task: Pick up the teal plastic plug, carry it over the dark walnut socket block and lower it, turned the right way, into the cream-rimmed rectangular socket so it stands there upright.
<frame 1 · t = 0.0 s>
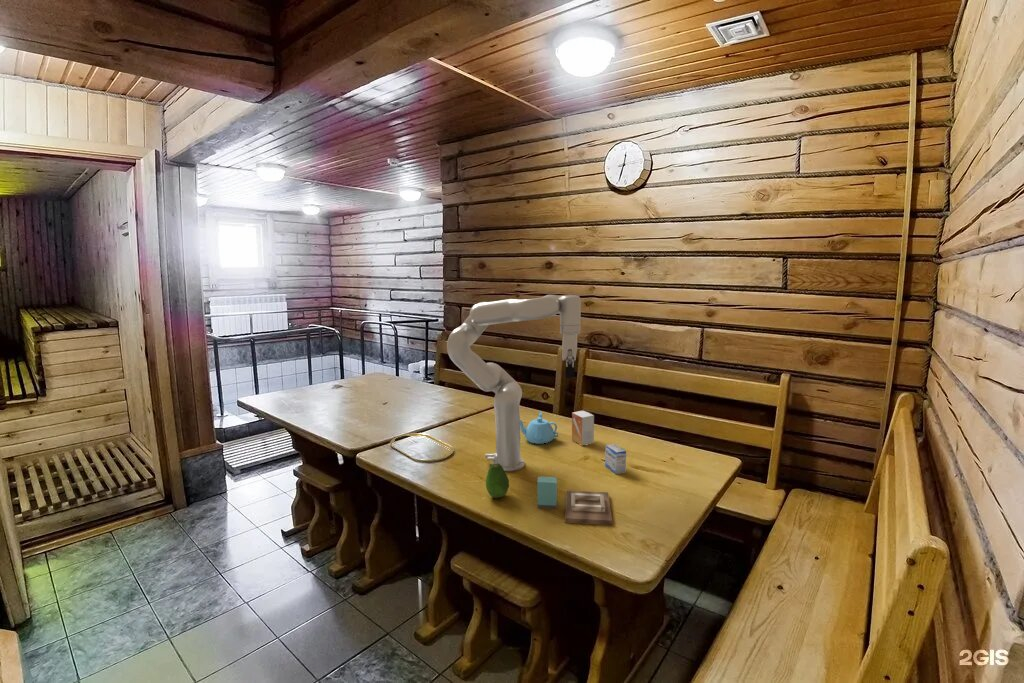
hand: (570, 374, 180), 37 cm above the table, tool pointing down, fingers open, 9 cm apart
avocado: (497, 497, 164), on the table
small box: (582, 442, 212), on the table
plug: (547, 505, 157), on the table
teapot: (537, 440, 215), on the table
serving platter: (421, 449, 208), on the table
medicine box: (615, 470, 184), on the table
socket block: (587, 508, 155), on the table
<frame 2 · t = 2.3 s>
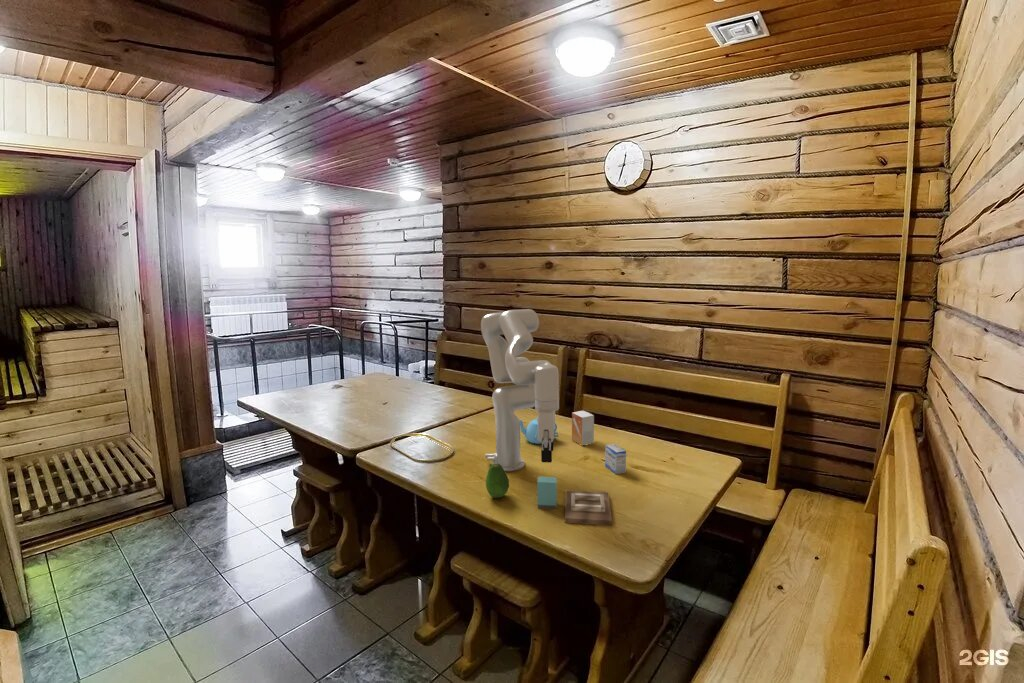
hand: (547, 456, 154), 17 cm above the table, tool pointing down, fingers open, 9 cm apart
nothing on the table moved.
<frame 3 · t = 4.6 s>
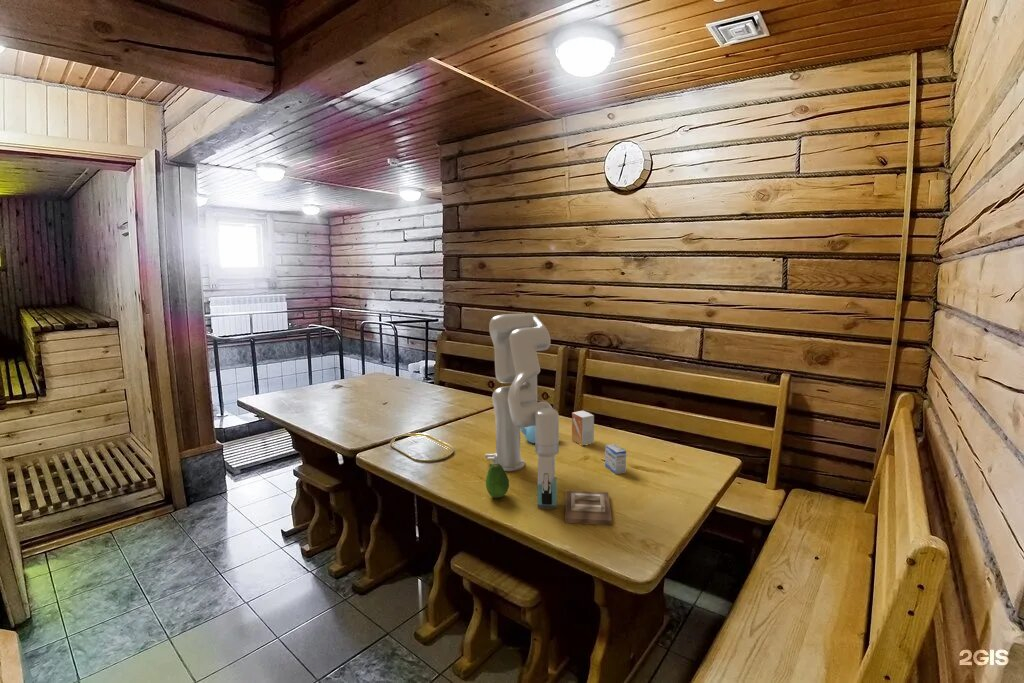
hand: (547, 499, 157), 2 cm above the table, tool pointing down, fingers closed on plug, 4 cm apart
plug: (547, 505, 157), on the table, touching gripper
everything else where it was.
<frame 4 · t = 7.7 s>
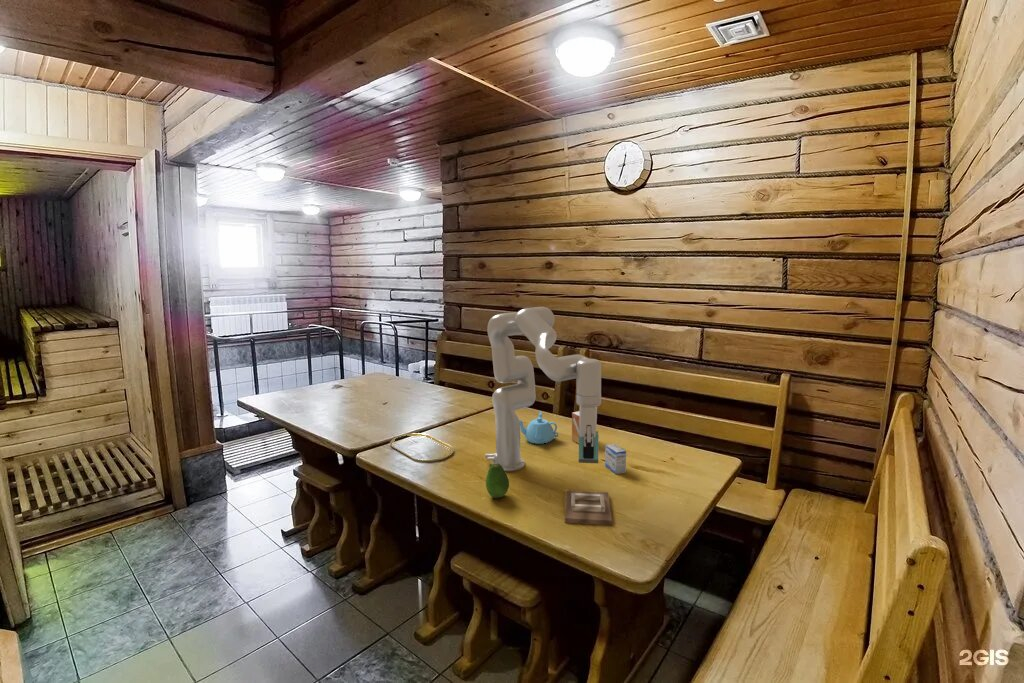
hand: (588, 454, 152), 18 cm above the table, tool pointing down, fingers closed on plug, 4 cm apart
plug: (588, 460, 152), point 16 cm above the table, touching gripper
everything else where it was.
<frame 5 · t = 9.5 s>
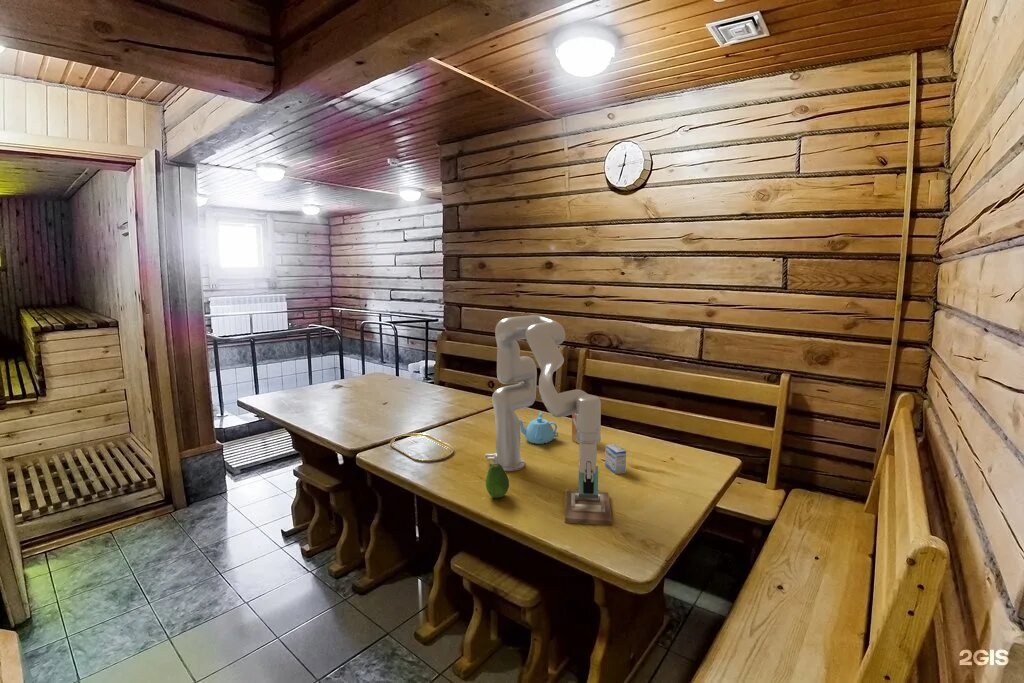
hand: (588, 489, 153), 7 cm above the table, tool pointing down, fingers closed on plug, 4 cm apart
plug: (588, 494, 154), point 5 cm above the table, touching gripper
everything else where it was.
when the fingers open (4 cm above the table, at t = 10.8 s): plug stays where it is, resting on socket block.
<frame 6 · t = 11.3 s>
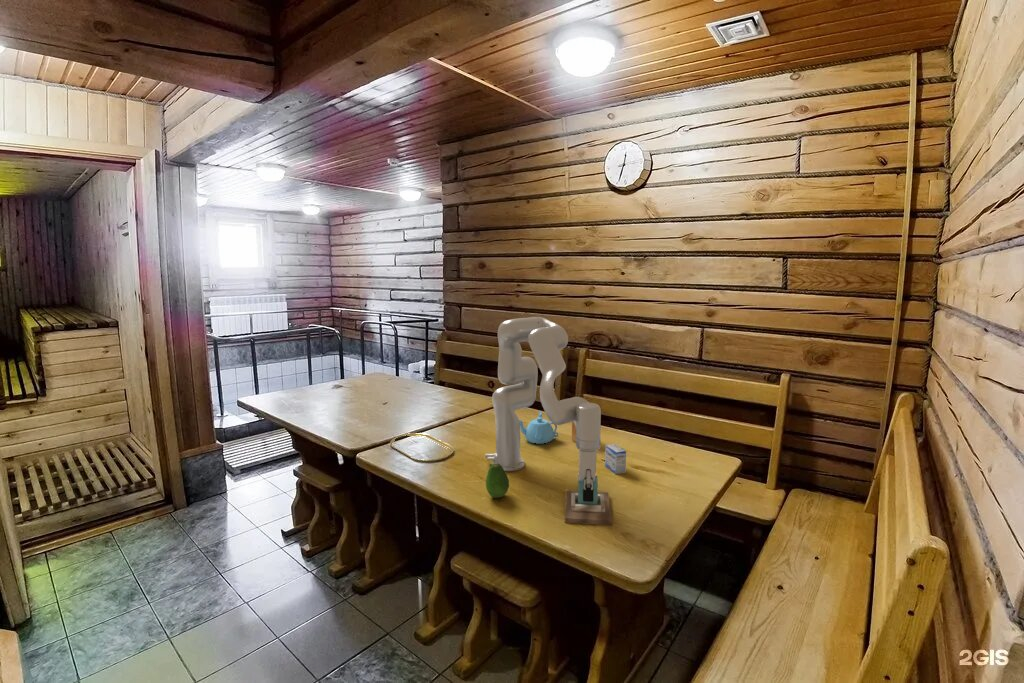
hand: (587, 493, 154), 5 cm above the table, tool pointing down, fingers open, 9 cm apart
plug: (587, 504, 155), point 1 cm above the table, touching socket block
everything else where it was.
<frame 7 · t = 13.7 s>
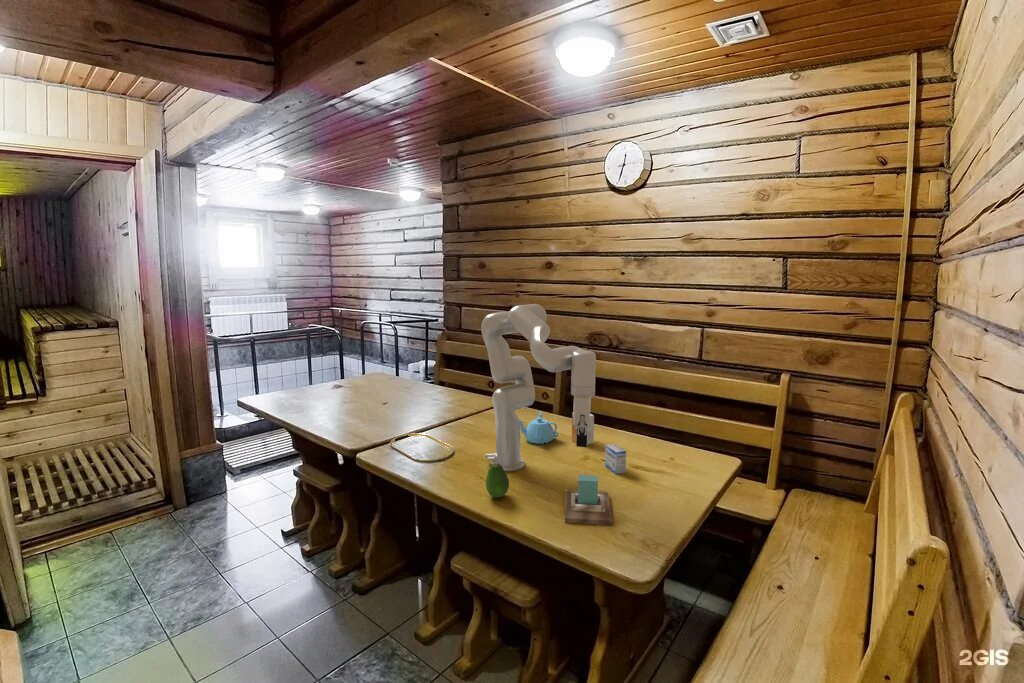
hand: (581, 440, 156), 21 cm above the table, tool pointing down, fingers open, 9 cm apart
nothing on the table moved.
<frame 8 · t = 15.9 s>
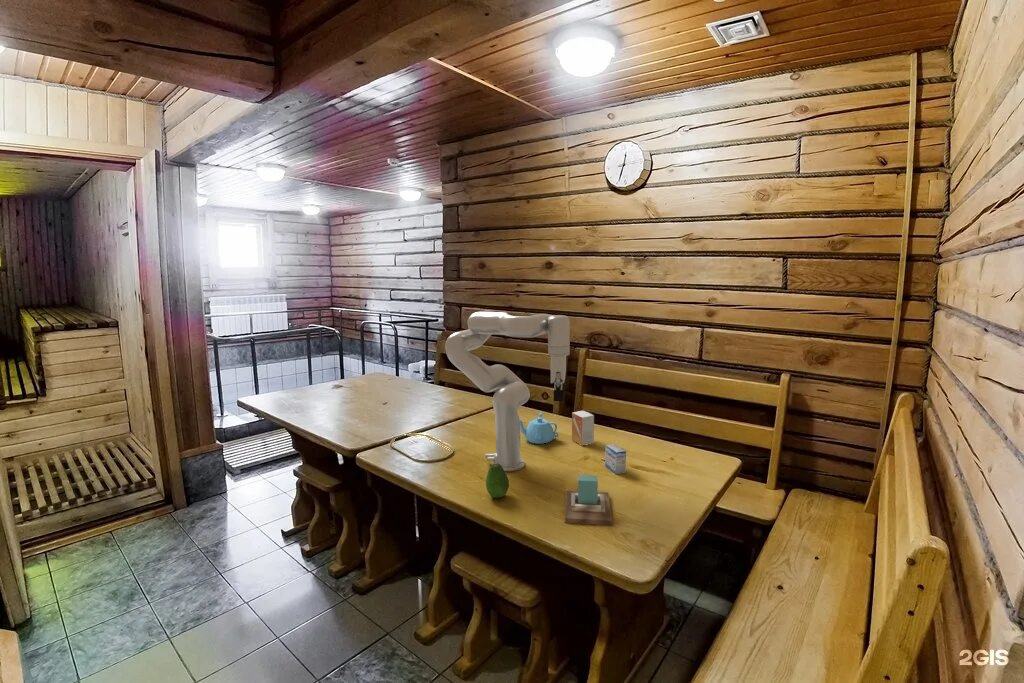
hand: (558, 397, 174), 30 cm above the table, tool pointing down, fingers open, 9 cm apart
nothing on the table moved.
at the end: plug 0.1 cm off-centre on the socket block, point 1.5 cm above the socket block's base; plug tilted 0°; the gripper is holding nothing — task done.
